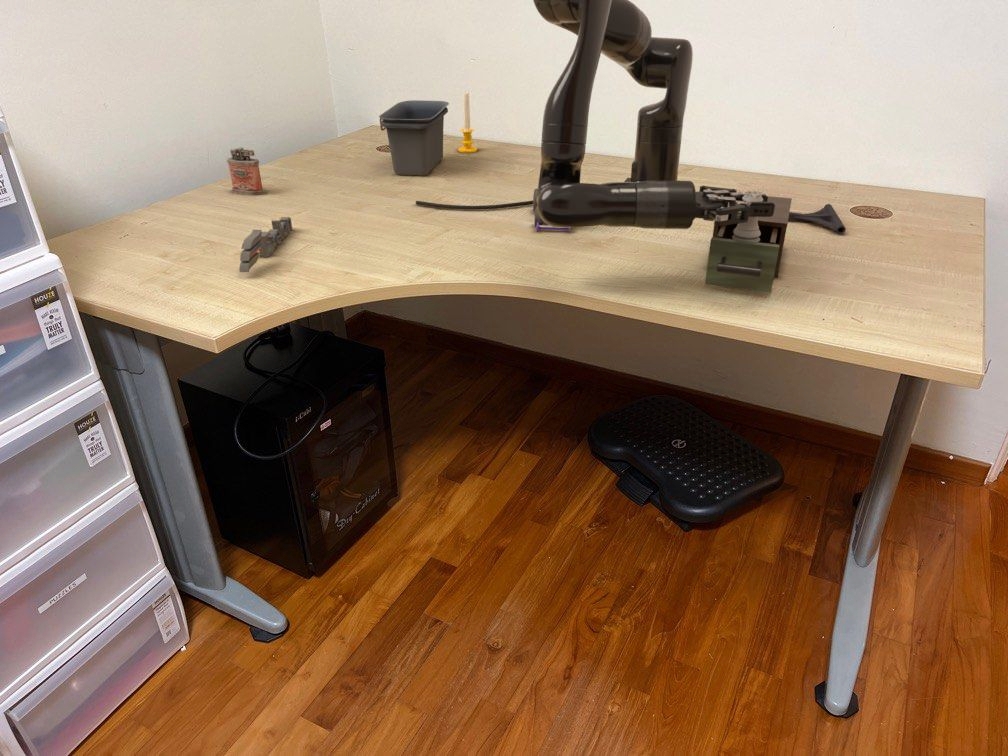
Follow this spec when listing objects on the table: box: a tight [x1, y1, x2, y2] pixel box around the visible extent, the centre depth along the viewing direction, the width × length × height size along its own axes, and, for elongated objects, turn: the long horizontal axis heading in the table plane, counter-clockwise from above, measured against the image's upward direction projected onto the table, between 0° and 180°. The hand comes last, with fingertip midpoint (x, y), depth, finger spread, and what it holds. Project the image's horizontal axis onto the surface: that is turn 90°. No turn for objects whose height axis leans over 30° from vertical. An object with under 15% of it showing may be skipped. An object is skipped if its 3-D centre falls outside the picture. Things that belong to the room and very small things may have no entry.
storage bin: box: [378, 99, 450, 177], centre depth 190 cm, size 21×16×14 cm
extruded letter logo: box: [239, 216, 293, 273], centre depth 141 cm, size 25×2×6 cm, turn 177°
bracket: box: [788, 203, 846, 235], centre depth 154 cm, size 14×15×3 cm
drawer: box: [704, 223, 779, 294], centre depth 125 cm, size 18×10×8 cm, turn 159°
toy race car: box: [532, 188, 571, 233], centre depth 155 cm, size 10×15×6 cm, turn 174°
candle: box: [458, 91, 478, 154], centre depth 204 cm, size 5×5×16 cm
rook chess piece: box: [732, 190, 763, 242], centre depth 122 cm, size 4×4×8 cm
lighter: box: [226, 146, 265, 196], centre depth 174 cm, size 8×3×10 cm, turn 68°
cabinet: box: [712, 193, 793, 279], centre depth 135 cm, size 15×12×10 cm
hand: (769, 205), depth 121 cm, fingers closed on rook chess piece, 3 cm apart
